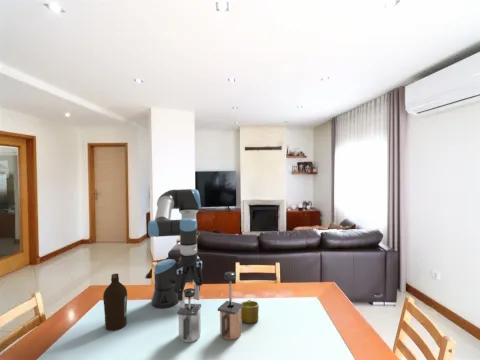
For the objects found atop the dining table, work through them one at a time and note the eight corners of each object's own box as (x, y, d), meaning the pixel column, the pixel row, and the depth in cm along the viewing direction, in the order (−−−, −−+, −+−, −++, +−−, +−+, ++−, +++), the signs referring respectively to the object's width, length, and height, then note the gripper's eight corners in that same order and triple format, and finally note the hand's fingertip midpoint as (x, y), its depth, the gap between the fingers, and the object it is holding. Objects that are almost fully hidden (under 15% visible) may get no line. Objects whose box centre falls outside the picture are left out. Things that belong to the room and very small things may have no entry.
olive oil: (104, 333, 133) (102, 280, 132) (103, 322, 142) (102, 272, 141) (128, 328, 137) (127, 276, 136) (126, 317, 147) (125, 269, 146)
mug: (260, 323, 137) (254, 301, 139) (240, 327, 139) (235, 306, 142) (265, 315, 149) (259, 295, 151) (246, 320, 151) (241, 300, 153)
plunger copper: (221, 314, 131) (220, 274, 130) (229, 309, 135) (229, 270, 135) (231, 318, 127) (231, 277, 126) (239, 312, 132) (239, 273, 131)
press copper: (232, 345, 123) (232, 315, 123) (213, 340, 127) (213, 311, 127) (244, 331, 134) (244, 304, 133) (226, 327, 138) (226, 300, 137)
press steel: (195, 347, 122) (195, 316, 122) (174, 345, 123) (174, 315, 123) (202, 331, 134) (201, 303, 134) (183, 330, 135) (182, 303, 135)
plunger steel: (180, 331, 129) (179, 291, 129) (189, 325, 134) (189, 286, 133) (189, 336, 126) (189, 294, 125) (199, 329, 131) (198, 289, 130)
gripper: (176, 260, 118) (177, 315, 119) (211, 249, 135) (211, 296, 136) (164, 257, 122) (165, 310, 123) (199, 246, 139) (199, 292, 140)
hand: (189, 303), depth 129 cm, fingers open, 8 cm apart
